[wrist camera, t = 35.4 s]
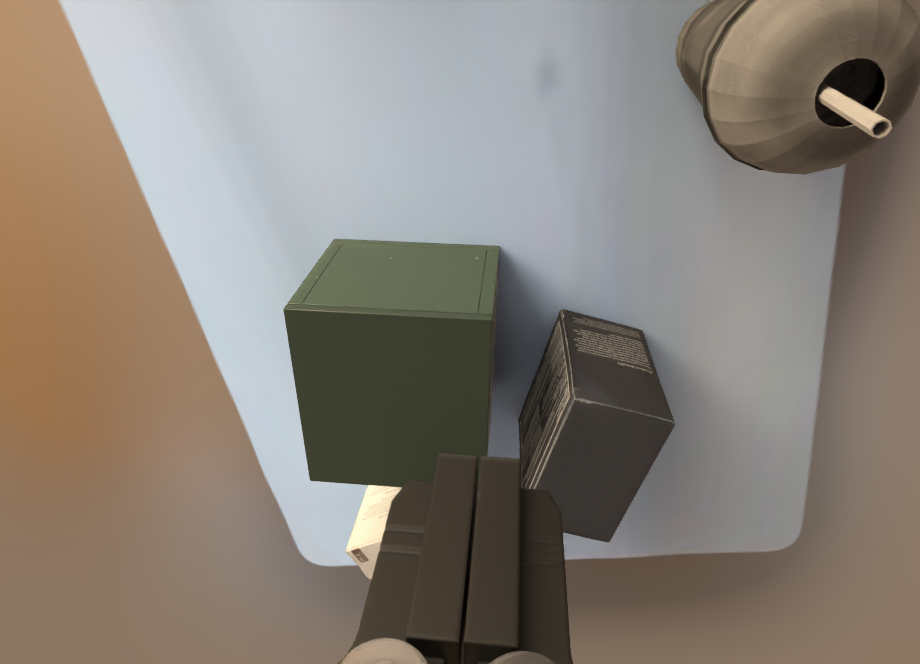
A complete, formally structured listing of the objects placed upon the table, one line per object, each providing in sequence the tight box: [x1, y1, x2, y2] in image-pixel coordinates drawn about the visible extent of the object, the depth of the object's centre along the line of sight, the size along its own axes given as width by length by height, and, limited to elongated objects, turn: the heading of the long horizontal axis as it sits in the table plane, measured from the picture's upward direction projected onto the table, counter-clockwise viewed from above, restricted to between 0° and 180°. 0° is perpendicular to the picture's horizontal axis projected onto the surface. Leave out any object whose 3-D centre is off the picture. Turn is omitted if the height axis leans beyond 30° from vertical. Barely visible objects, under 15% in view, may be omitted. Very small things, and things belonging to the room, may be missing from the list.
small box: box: [518, 310, 675, 542], centre depth 40 cm, size 11×6×10 cm, turn 166°
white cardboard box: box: [346, 485, 402, 580], centre depth 49 cm, size 6×6×7 cm
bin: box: [288, 239, 499, 456], centre depth 39 cm, size 12×11×9 cm
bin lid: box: [284, 304, 493, 493], centre depth 35 cm, size 12×11×1 cm
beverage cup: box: [676, 0, 920, 174], centre depth 24 cm, size 7×7×20 cm
